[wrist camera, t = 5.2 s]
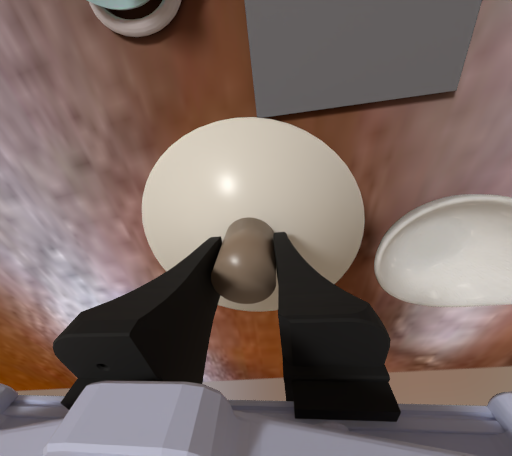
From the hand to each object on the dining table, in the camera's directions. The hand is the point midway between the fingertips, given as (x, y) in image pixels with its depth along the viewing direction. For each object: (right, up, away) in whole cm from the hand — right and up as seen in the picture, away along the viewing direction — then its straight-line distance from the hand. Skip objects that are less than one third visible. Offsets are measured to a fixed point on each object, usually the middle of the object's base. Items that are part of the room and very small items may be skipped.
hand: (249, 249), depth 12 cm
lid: (0, +1, +1) cm, 1 cm away
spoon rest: (+23, +1, +9) cm, 25 cm away
